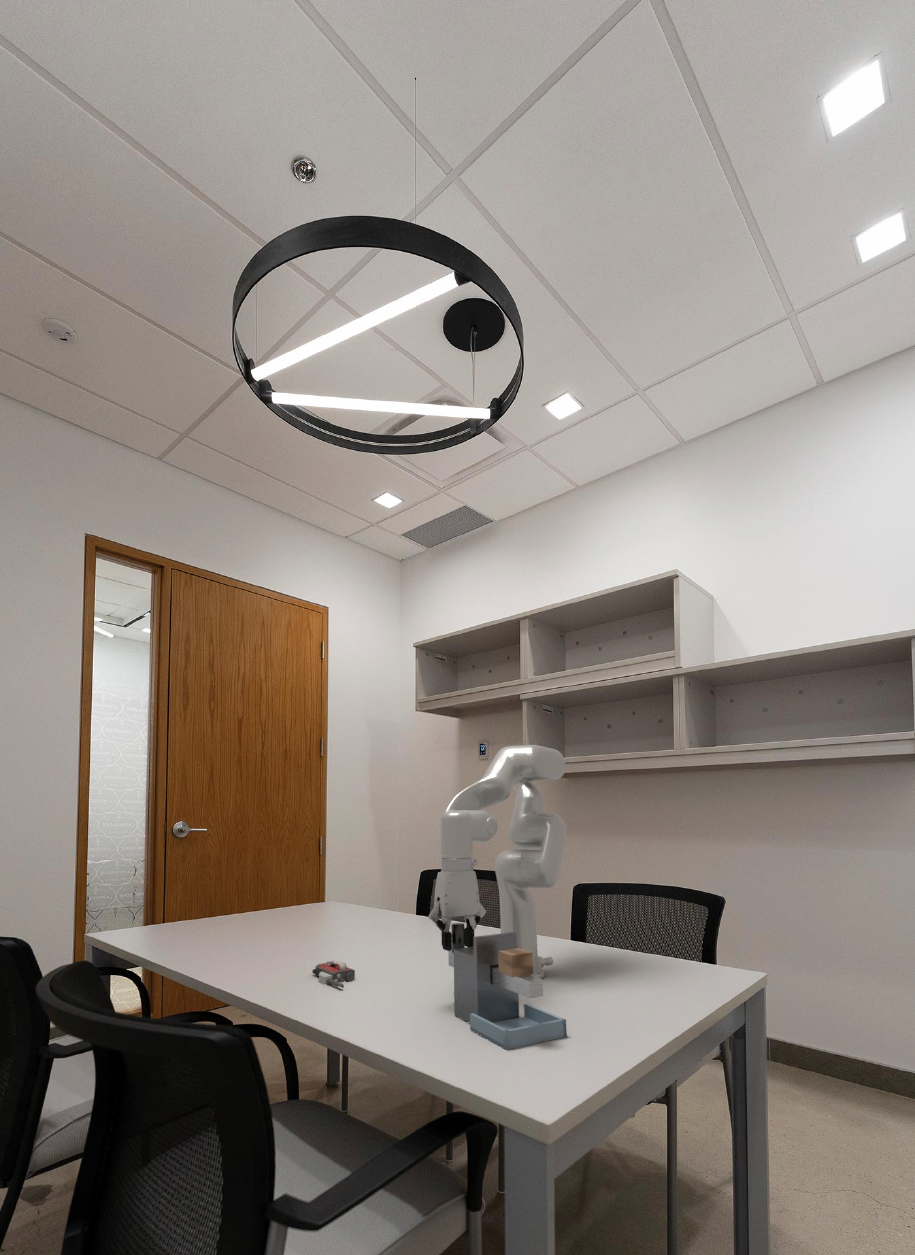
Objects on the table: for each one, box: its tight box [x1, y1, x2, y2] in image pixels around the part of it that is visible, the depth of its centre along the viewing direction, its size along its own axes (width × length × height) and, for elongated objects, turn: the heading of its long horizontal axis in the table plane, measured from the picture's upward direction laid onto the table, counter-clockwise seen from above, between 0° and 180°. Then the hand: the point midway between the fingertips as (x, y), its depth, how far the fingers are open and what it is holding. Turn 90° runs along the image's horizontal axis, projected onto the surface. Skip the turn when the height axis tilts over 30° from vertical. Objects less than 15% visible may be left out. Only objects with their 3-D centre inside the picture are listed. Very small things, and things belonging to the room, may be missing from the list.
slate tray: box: [469, 1003, 568, 1050], centre depth 141 cm, size 14×13×3 cm
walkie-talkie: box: [312, 960, 356, 989], centre depth 184 cm, size 9×4×20 cm
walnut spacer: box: [498, 948, 533, 977], centre depth 143 cm, size 5×5×4 cm
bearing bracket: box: [453, 932, 520, 1024], centre depth 152 cm, size 10×10×17 cm
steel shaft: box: [447, 922, 544, 1000], centre depth 151 cm, size 3×33×9 cm, turn 29°
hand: (458, 947), depth 163 cm, fingers open, 5 cm apart
